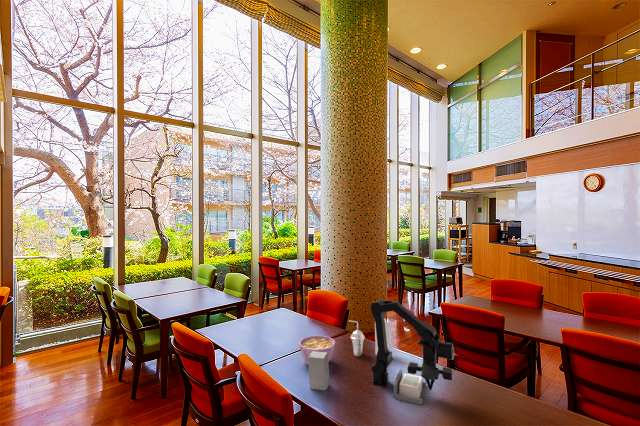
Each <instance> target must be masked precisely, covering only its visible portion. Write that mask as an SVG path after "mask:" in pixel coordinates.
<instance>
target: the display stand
mask: <svg viewBox="0 0 640 426" xmlns="http://www.w3.org/2000/svg"><path fill="white" fill-rule="evenodd" d="M402 377H403V369H401V368H400V369H399V370H398V373H397V375H396V377H395V379H394V382H393V399H396V400H398V401H403V402H407V403H412V404H418V405H420V406H421V405H423V398H420V397H419V398H417V397H412V396H407V395H402V394H400V382H401V379H402ZM426 387H427V382H426V380H425V381H424V380H422V388H426Z"/></svg>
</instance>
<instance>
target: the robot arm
mask: <svg viewBox="0 0 640 426" xmlns="http://www.w3.org/2000/svg"><path fill="white" fill-rule="evenodd" d="M370 311H371V315H372V318H373V320H374V326H375V325H376V335H377V345H378V352H377V355H375V356H376V357H375V358H376V359H375V363H374V364H373V366H371V371H372V374H373V375H372V378H373V381H372V385H375V386H381V387H387V385H388V384H389V379H390V377H389V375H390V374H389V372H388V368H389V367H390V365H392V362H393V360H394V357H393V351H391V350H390V352H389V350H388V348H387V339H386V329H385V319H386V314H387V312H394V313H395V314H397V316H399V317H400V318H401V319H403V320H404V321H405V322H406V323H407V324H408V325H410V326H411V327H412V328H413V329H414V330H415V331H416V333H417V335H418V336H419V337H420V339H419V341H418V342H417V345H420V346H422V350H421V351H422V365H421V366H419V363H418V362H411V361H410V362H409V363H408V366H407V374H410V375H416V374H417V372H420V373H421V374H420V376H421V377H422V379H424V380H425V382H426V386H427V388H428V391H432V389H433V386H434V383H435V381H437V380H439V376H442V377H441V378H443V380H446V381H447V380H448V381H453V369H452V368H450V367H442V369H440V368H439V367H437V357H438V358H440V359H444V360H446V359H447V360H451V361H454V359H455V348H454V344H453V342H446V341H442V338H441V337H440V336H439V334H438V333H437V329H436V328H435V327H434V326H433V325H432V324H430V323H428V322H427V321H423V320H421V319H419V318H418V317H417V316H416V315H415V314H413V313H412V312H411V311H410V310H408V309H407V308H406V307H405V306H404V305H402V304H401V303H400V302H399V301H398V300H383V299H377V300H376V301H374V302H372V303H371V304H370Z"/></svg>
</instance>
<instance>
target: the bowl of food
mask: <svg viewBox="0 0 640 426" xmlns="http://www.w3.org/2000/svg"><path fill="white" fill-rule="evenodd" d="M335 345H336V341H335V339H334V338H332V337H330V336H326V335H319V334H318V335H310V336H306V337H303V338H302V339H300V340H299V348H300V352H301V357H302V359H303V361H304V362H305V363H306V364H308V356H309V355H310V354H311V352H312V351H316V352H327V353H328V363H329V362H330V361H332V357H333V354H334V352H335V347H336V346H335Z"/></svg>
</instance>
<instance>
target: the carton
mask: <svg viewBox="0 0 640 426" xmlns="http://www.w3.org/2000/svg"><path fill="white" fill-rule="evenodd" d="M422 381H423V377H421V375H416V374H411V373H402V379H401V382H400V390H399V394H402V395H407V396H412V397H417V398H420V397H421V393H422V389H423V387H422Z"/></svg>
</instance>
